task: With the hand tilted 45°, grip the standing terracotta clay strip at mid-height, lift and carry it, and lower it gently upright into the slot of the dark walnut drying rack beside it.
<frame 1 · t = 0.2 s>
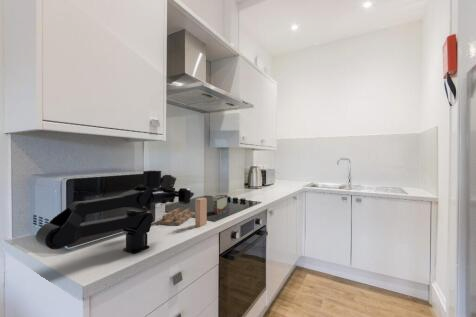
hand: (185, 193, 102), 17 cm above the worktop, tool horizontal, fingers open, 9 cm apart
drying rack: (177, 219, 119), on the worktop
food container: (218, 212, 135), on the worktop
clay strip: (201, 225, 108), on the worktop
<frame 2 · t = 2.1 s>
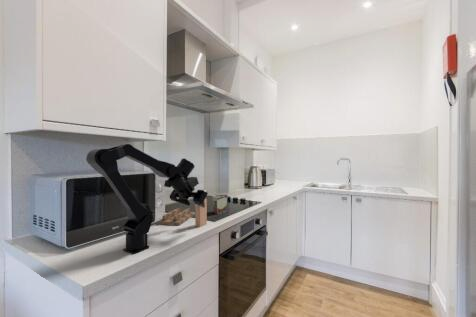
hand: (196, 205, 106), 10 cm above the worktop, tool tilted 45°, fingers open, 9 cm apart
nothing on the worktop moved.
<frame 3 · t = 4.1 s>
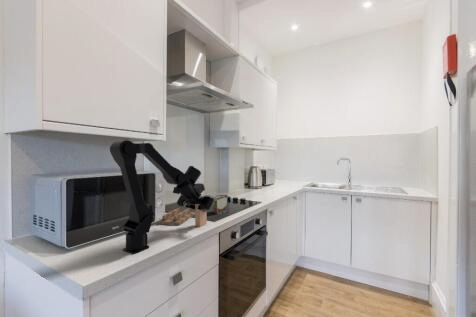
hand: (202, 211, 110), 7 cm above the worktop, tool tilted 45°, fingers closed on clay strip, 3 cm apart
clay strip: (201, 225, 108), on the worktop, touching gripper
everything else where it was.
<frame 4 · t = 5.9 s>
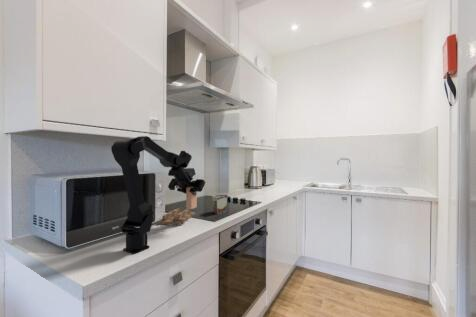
hand: (192, 194, 116), 14 cm above the worktop, tool tilted 45°, fingers closed on clay strip, 3 cm apart
clay strip: (191, 207, 114), point 7 cm above the worktop, touching gripper
everything else where it was.
when the fingers open (9 cm above the worktop, at t = 7.8 s): clay strip drops 1 cm, resting on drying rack.
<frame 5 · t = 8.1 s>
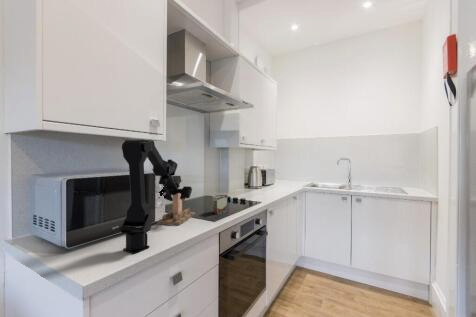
hand: (178, 201, 121), 10 cm above the worktop, tool tilted 45°, fingers open, 7 cm apart
clay strip: (177, 216, 119), point 1 cm above the worktop, touching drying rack
everything else where it was.
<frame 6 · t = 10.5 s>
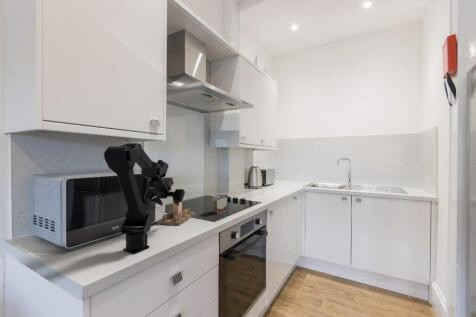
hand: (170, 204, 111), 9 cm above the worktop, tool tilted 45°, fingers open, 9 cm apart
nothing on the worktop moved.
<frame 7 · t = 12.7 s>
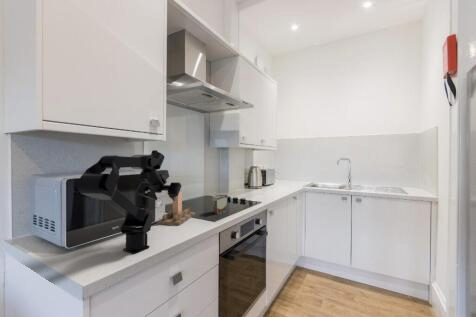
hand: (165, 199, 103), 14 cm above the worktop, tool tilted 45°, fingers open, 9 cm apart
nothing on the worktop moved.
at the end: clay strip inside the target area on the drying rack (0.0 cm from its centre), point 1.5 cm above the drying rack's base; clay strip tilted 0°; the gripper is holding nothing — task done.
